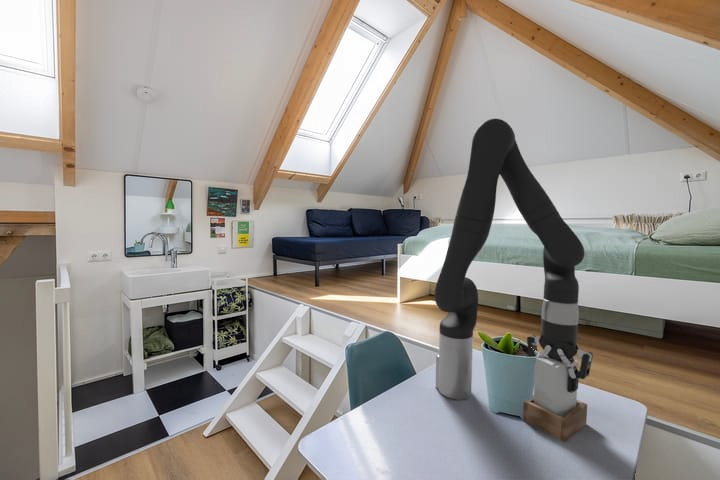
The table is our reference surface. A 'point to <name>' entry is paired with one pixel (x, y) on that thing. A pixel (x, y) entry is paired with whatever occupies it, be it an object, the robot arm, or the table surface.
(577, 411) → the box
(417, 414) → the table surface
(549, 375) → the skincare box
